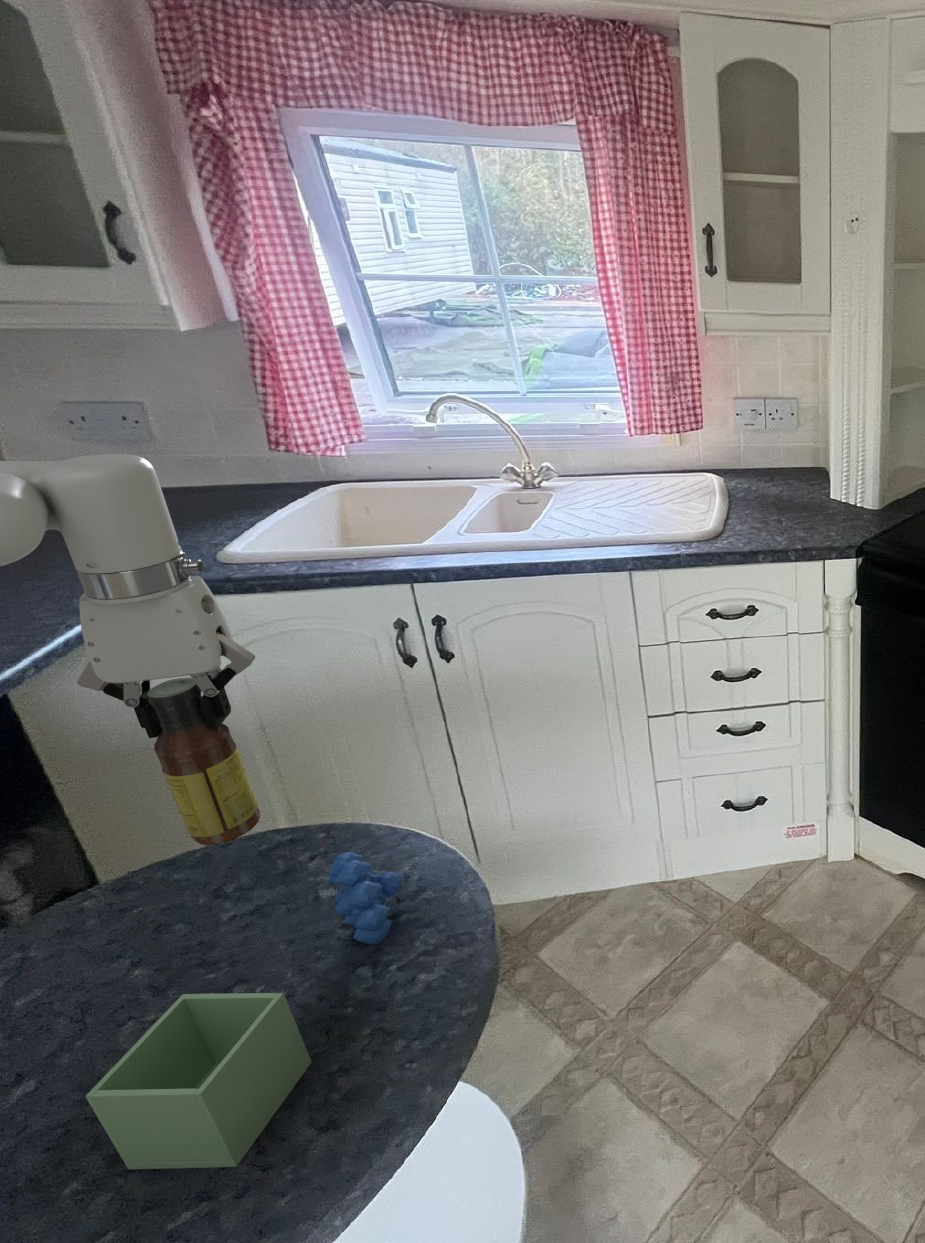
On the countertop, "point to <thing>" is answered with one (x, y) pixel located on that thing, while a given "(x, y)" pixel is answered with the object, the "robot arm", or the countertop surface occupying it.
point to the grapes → (363, 896)
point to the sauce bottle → (201, 766)
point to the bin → (202, 1081)
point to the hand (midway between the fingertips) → (189, 724)
